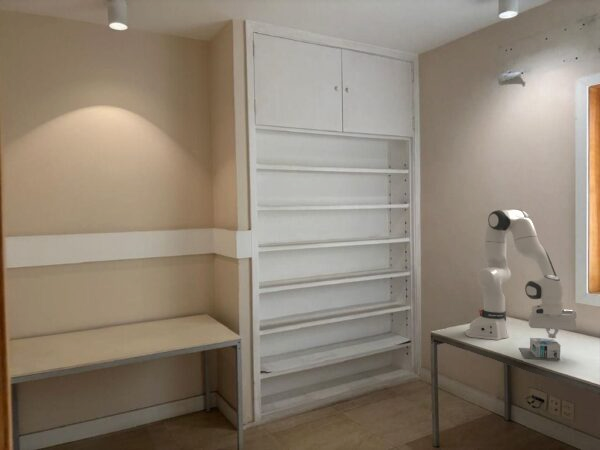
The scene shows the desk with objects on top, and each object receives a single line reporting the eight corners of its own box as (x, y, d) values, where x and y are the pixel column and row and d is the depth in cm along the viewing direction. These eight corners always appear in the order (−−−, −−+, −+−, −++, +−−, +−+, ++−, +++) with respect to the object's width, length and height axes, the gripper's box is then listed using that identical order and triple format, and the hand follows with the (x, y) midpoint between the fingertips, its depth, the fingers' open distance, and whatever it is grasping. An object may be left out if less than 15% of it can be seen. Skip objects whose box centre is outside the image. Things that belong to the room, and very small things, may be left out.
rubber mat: (523, 358, 224) (523, 357, 224) (518, 348, 239) (518, 347, 239) (556, 360, 220) (556, 359, 220) (549, 350, 235) (549, 349, 235)
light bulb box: (560, 344, 221) (536, 343, 223) (560, 358, 221) (536, 357, 223) (553, 338, 231) (529, 337, 233) (552, 351, 232) (529, 350, 234)
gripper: (574, 308, 226) (574, 337, 227) (527, 307, 232) (527, 334, 233) (578, 311, 220) (578, 341, 221) (530, 309, 226) (530, 338, 227)
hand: (551, 337), depth 227 cm, fingers closed
